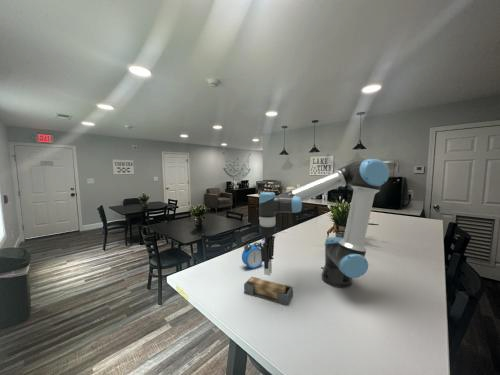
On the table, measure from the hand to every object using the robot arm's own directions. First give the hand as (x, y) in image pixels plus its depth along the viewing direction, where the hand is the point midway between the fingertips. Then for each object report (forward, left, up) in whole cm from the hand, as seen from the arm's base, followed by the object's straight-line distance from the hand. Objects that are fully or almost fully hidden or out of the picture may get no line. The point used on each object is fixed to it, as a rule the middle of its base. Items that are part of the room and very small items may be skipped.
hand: (267, 273), depth 96 cm
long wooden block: (+1, 0, -10) cm, 10 cm away
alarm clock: (+20, -23, -11) cm, 32 cm away
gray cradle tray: (0, 0, -10) cm, 10 cm away
